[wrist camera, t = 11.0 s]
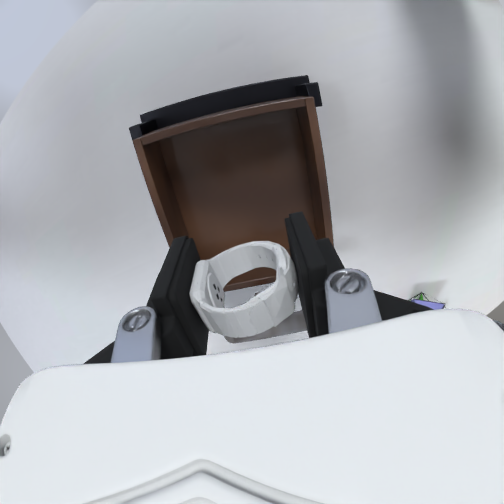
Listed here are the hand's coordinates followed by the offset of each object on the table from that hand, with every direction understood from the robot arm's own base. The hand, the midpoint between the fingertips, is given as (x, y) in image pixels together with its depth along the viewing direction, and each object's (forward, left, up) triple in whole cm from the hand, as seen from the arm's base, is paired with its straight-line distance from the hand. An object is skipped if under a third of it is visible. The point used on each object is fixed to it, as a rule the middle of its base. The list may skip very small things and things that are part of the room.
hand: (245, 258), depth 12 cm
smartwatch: (0, 0, 0) cm, 0 cm away
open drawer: (+2, 0, -9) cm, 10 cm away
